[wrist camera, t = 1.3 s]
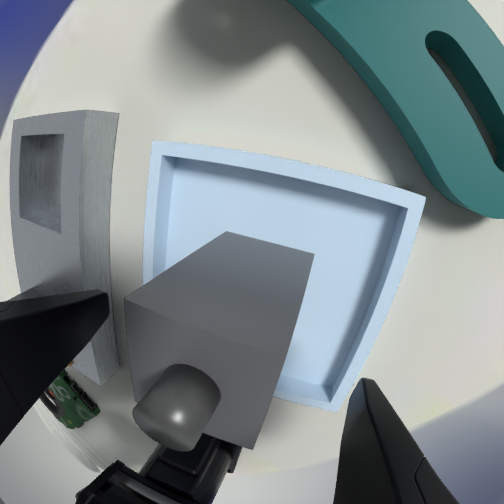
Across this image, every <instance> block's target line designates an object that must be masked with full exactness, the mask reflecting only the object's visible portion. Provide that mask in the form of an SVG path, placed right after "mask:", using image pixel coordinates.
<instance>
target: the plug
mask: <svg viewBox="0 0 504 504" xmlns="http://www.w3.org/2000/svg"><path fill="white" fill-rule="evenodd" d="M314 255H315V254H314V253H310V252H306V251H302V250H298V249H294V248H291V247H287V246H283V245H279V244H275V243H271V242H267V241H263V240H260V239H256V238H252V237H248V236H244V235H240V234H236V233H232V232H228V231H226V232H224V233H222V234H221V235H219V236H218V237H216V238H215V239H213V240H211V241H210V242H208V243H207V244H205V245H204V246H202V247H201V248H199V249H197V250H196V251H194V252H193V253H191V254H190V255H188V256H187V257H185V258H184V259H182V260H181V261H179V262H178V263H176V264H175V265H173V266H171V267H170V268H168V269H167V270H165V271H164V272H162V273H161V274H159V275H158V276H156V277H155V278H153V279H152V280H150V281H149V282H147V283H146V284H144V285H143V286H142V287H140V288H139V289H137V290H136V291H134V292H133V293H131V294H130V295H128V296H127V297H125V298H124V310H125V324H126V336H127V346H128V355H129V363H130V371H131V378H132V384H133V391H134V397H135V401H136V402H138V404H137V405H136V406H135V407H134V409H133V411H132V414H133V418H134V420H135V422H136V423H137V425H138V426H139V427H140V428H141V430H142V431H143V432H144V433H146V434H147V435H148V436H149V437H150V438H152V439H153V440H155V441H156V442H158V443H159V444H161V445H163V446H165V447H168V448H170V449H173V450H177V451H191V450H192V449H194V447H195V445H196V443H197V442H198V440H199V438H200V436H201V435H202V433H205V434H208V435H210V436H213V437H216V438H218V439H221V440H224V441H227V442H230V443H233V444H236V445H239V446H242V447H245V448H248V449H251V450H253V448H254V445H255V442H256V440H257V437H258V435H259V432H260V430H261V427H262V424H263V422H264V419H265V416H266V414H267V411H268V408H269V405H270V403H271V400H272V397H273V394H274V391H275V389H276V386H277V383H278V380H279V377H280V374H281V371H282V368H283V365H284V362H285V359H286V356H287V353H288V349H289V346H290V343H291V339H292V336H293V333H294V329H295V326H296V322H297V319H298V315H299V312H300V308H301V305H302V301H303V297H304V294H305V290H306V286H307V283H308V279H309V275H310V271H311V267H312V263H313V259H314Z"/></svg>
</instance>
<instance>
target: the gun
mask: <svg viewBox="0 0 504 504" xmlns="http://www.w3.org/2000/svg"><path fill="white" fill-rule="evenodd" d="M67 374H68V373H67V372H66V371H65V369H64V370H63V371H62V373H61V374H60V375H59V376H58V377H57V378H56V379H55V380H54V382H53V383H52V384H51V385H50V386H49V387H48V388H47V389H46V391H45V393H46V395H47V396H48V397H49V398H51V399H52V400H53V401H54V403H55V404H56V406H55V405H54V404H53V403H52V402H51V401H50V400H49V399H48V398H47V396H46V395H45V393H43V394H42V395H41V396H40V399H41V401H42V402H43V403H44V405H45V406H46V407H47V408H48V409H49V410H50V411H51V412H52V413H53V414H54V416H55V417H56V418H57V419H58V421H59V422H62V423H63V424H64V425H65V426H66V427H67V428H70V429H74V428H75V427H77V428H79V427H81V426H82V425H83V422H85V421H88V420H89V419H91V418H93V417H95V416H96V415H97V414H98V413H99V412H100V410H99V408H98V406H96V405H97V404H96V405H94V404H93V403H92V402H91V401H90V400H89V399H88V398H87V396H86V395H85V393H86V392H84V393H83V394H82V395H80V393H79V392H80V391H81V390H82V389H81V390H79V389H78V388H77V386H76V385H75V383H76V382H75V381H74V380H72V381H71V380H70V379H69V378H68V377H67ZM74 382H75V383H74ZM73 383H74V384H73ZM95 406H96V407H95ZM94 407H95V408H94Z"/></svg>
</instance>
